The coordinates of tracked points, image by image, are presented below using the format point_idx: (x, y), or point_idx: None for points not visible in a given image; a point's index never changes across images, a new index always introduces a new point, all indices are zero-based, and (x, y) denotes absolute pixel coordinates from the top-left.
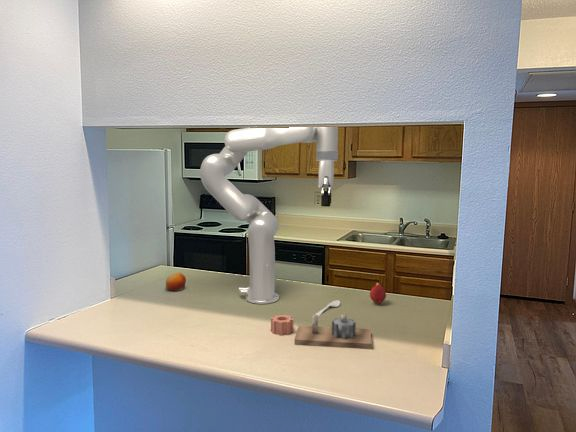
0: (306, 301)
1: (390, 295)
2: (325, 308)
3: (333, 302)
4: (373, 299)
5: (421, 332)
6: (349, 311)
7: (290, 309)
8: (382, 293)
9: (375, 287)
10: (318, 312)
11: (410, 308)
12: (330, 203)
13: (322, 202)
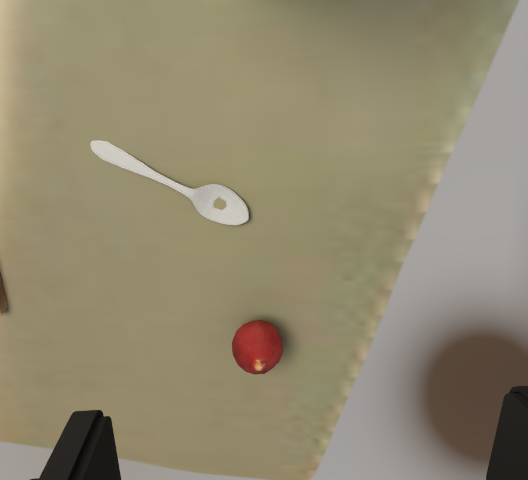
0: (250, 105)
1: (343, 364)
2: (162, 181)
3: (237, 203)
4: (239, 328)
5: (60, 416)
6: (174, 253)
7: (150, 52)
8: (238, 364)
9: (250, 354)
10: (130, 159)
11: (233, 405)
12: (490, 476)
13: (55, 474)
